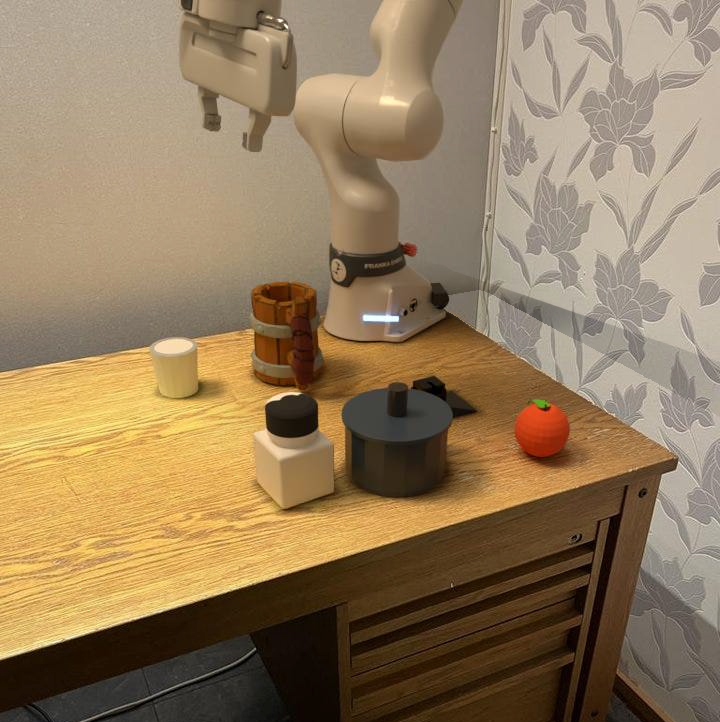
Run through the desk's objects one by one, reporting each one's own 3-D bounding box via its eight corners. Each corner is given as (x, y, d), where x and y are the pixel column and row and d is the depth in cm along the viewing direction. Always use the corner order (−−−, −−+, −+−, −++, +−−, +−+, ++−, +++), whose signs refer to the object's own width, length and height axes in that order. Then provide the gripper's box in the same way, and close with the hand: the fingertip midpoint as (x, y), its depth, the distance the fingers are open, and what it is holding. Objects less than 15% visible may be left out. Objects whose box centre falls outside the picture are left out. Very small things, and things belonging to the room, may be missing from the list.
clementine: (498, 440, 107) (504, 392, 103) (544, 432, 108) (552, 385, 105) (527, 471, 100) (534, 421, 96) (575, 461, 102) (584, 413, 98)
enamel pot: (396, 434, 108) (398, 384, 104) (464, 471, 100) (469, 419, 96) (325, 466, 101) (324, 414, 97) (393, 509, 93) (395, 455, 89)
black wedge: (401, 432, 108) (402, 402, 106) (376, 409, 114) (376, 380, 111) (477, 412, 113) (480, 383, 110) (450, 391, 118) (452, 362, 116)
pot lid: (398, 385, 105) (399, 353, 102) (475, 423, 96) (478, 389, 94) (318, 418, 97) (318, 384, 95) (395, 463, 89) (396, 426, 86)
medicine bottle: (335, 493, 96) (334, 404, 89) (282, 511, 93) (277, 421, 86) (306, 465, 101) (303, 380, 94) (255, 482, 98) (248, 395, 91)
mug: (310, 351, 130) (307, 261, 122) (343, 396, 117) (342, 297, 109) (245, 361, 127) (237, 268, 118) (272, 407, 114) (265, 307, 106)
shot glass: (197, 400, 116) (192, 356, 112) (150, 399, 116) (143, 355, 112) (206, 379, 121) (201, 336, 117) (161, 378, 121) (155, 335, 118)
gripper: (318, 24, 82) (302, 164, 89) (219, -5, 95) (212, 120, 102) (266, 17, 78) (254, 163, 86) (170, -12, 91) (167, 118, 98)
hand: (230, 140), depth 94 cm, fingers open, 8 cm apart
